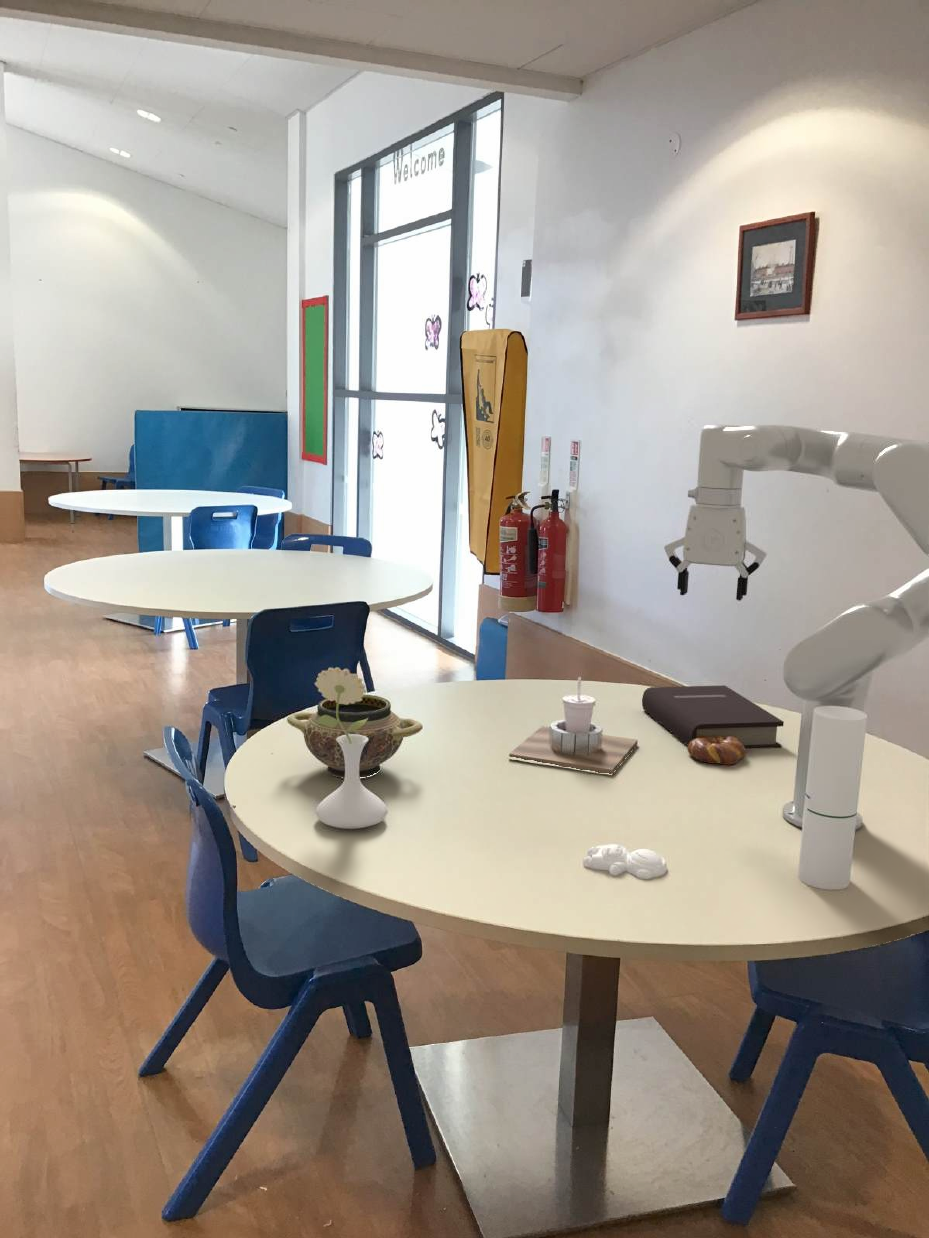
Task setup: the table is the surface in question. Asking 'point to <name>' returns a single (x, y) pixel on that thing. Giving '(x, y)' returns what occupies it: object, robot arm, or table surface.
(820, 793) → the cylindrical container
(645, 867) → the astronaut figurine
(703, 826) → the table surface
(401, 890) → the table surface
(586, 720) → the smoothie
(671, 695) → the book
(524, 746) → the walnut board
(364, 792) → the flower in vase
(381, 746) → the ceramic bowl
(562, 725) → the steel sleeve
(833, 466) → the robot arm
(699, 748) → the pretzel
